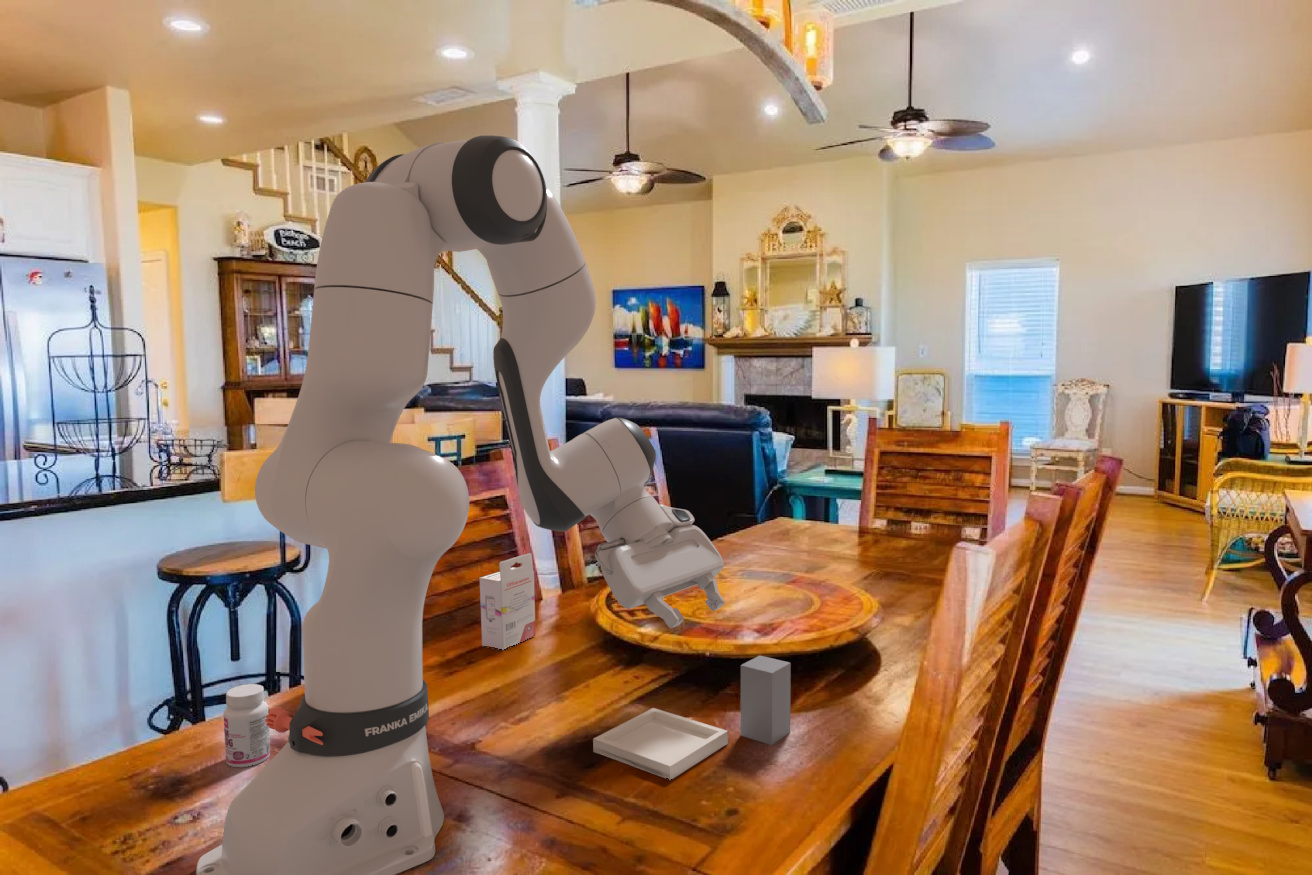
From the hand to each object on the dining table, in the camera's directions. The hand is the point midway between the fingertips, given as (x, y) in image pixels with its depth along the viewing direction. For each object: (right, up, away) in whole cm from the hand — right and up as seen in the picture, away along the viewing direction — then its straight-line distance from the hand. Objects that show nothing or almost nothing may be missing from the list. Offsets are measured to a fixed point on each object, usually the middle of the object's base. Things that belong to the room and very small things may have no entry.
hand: (699, 615), depth 111 cm
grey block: (+8, -14, -5) cm, 17 cm away
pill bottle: (-54, -15, -11) cm, 57 cm away
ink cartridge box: (-31, -11, +31) cm, 45 cm away
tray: (-5, -14, -9) cm, 17 cm away
